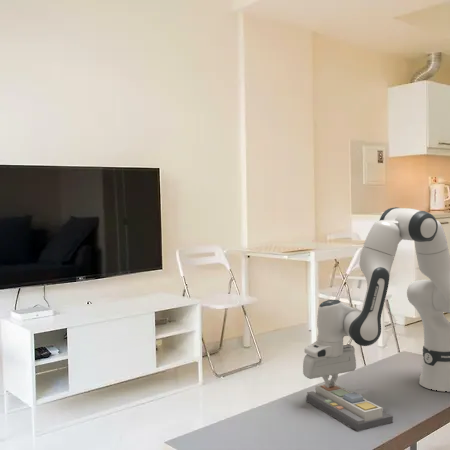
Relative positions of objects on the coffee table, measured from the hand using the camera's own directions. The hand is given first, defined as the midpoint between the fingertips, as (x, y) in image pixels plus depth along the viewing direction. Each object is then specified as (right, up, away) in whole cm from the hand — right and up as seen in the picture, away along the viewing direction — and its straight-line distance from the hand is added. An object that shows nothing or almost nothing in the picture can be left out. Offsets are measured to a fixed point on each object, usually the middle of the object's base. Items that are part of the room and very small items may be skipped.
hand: (330, 386), depth 186 cm
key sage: (+3, -3, -5) cm, 7 cm away
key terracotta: (0, -3, 0) cm, 3 cm away
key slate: (+5, -2, -11) cm, 12 cm away
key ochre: (+8, -3, -17) cm, 19 cm away
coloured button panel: (+4, -6, -8) cm, 11 cm away
